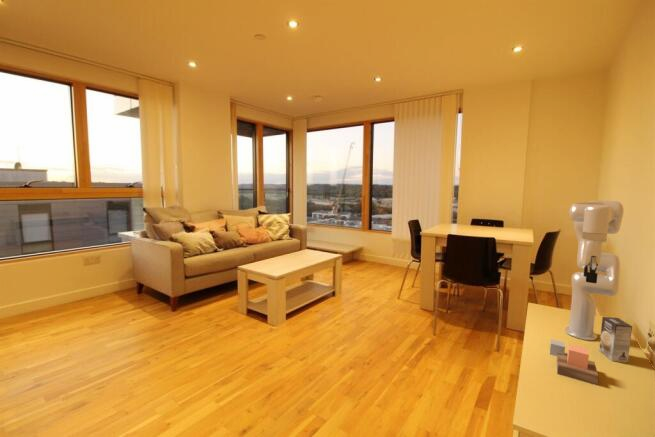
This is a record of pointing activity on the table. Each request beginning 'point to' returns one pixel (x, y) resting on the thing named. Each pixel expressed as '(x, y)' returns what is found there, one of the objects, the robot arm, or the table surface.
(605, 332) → the coffee box
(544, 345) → the table surface
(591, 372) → the walnut block
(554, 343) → the grey cube
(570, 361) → the terracotta cube
